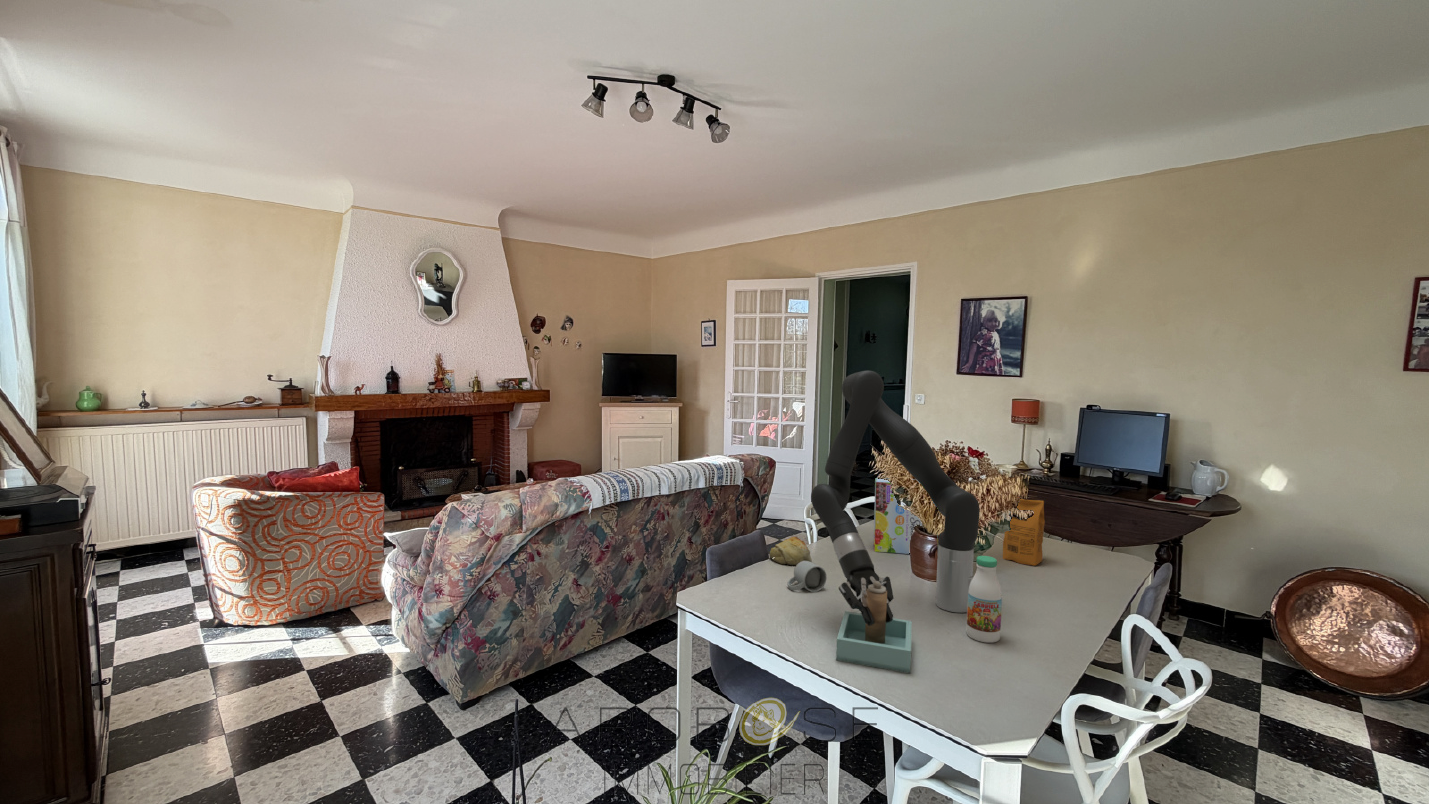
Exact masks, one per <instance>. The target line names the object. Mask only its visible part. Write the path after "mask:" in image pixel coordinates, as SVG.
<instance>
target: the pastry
mask: <svg viewBox="0 0 1429 804" xmlns="http://www.w3.org/2000/svg"><path fill="white" fill-rule="evenodd" d="M773 557H775V558H774V559H771V558H773ZM769 558H770V559H771V561H774V562H776V563H777V564H781V565H784V564H787V566H788V565H790V566H796V565H797V564H798V563H799V562H801V561H809V562H812V557H811V551H810V549H809V546H807V544H806V542H805V541H804V540H802V539H801V538H799V537H797V536H791V537H790V538H786V539H784V540H783V541H781V542H779V543H777V544H775V546H774V547H771V549H770V551H769Z"/></svg>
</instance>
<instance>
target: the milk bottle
mask: <svg viewBox="0 0 1429 804" xmlns="http://www.w3.org/2000/svg"><path fill="white" fill-rule="evenodd" d="M997 566H998V560H997V559H996V558H995V557H993V556H989V555H978V556H976V567H977V568H976V571H975V574H974V576H973V579H972V581H971V583H970V586H969V591H968V605H967V612H966V627H965V628H966V634H967V635H968V636H969V638H971V639H972V640H975V641H977V642H982V643H988V644H990V643H997V642H999V641H1000V639H1001V627H1002V612H1003V611H1002V610H1003V609H1002V606H1003V604H1002V603H1003V593H1002V591H1003V590H1002V587H1001V584H1000V582H999V579H998V577H997V572H996V570H997Z"/></svg>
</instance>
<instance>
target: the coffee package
mask: <svg viewBox="0 0 1429 804" xmlns="http://www.w3.org/2000/svg"><path fill="white" fill-rule="evenodd" d="M1044 505H1045V501H1044V500H1038V499H1037V500H1036V499H1023V498H1021V499H1020V502H1019V503H1018V506H1017V508H1018V509H1019V510H1033V511H1034V515H1033V516H1032V517H1030V518H1028V519H1022V520H1020V519H1018V518H1017V517H1012V519H1011V521H1010V528H1011V530H1010V531H1006V532H1005V531H1004V537H1003V539H1002V559H1003V560H1008V561H1013V562H1016V563H1018V564H1021V565H1027V566H1037V565H1038V564H1040V563H1041V562H1042V561H1043V543H1044V532H1045V531H1044V530H1045V523H1046V522H1045V509H1044V508H1045V506H1044Z"/></svg>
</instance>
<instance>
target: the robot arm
mask: <svg viewBox="0 0 1429 804" xmlns="http://www.w3.org/2000/svg"><path fill="white" fill-rule="evenodd" d="M884 385H885V384H884V380H883V378H882V377H881V375H880V374H879V373H877V372H876V371H873V370H862V371H858V372H854V373H852V374H848V375H847V376H846V377H845V378H844V379H843V381H842V385H841V392H842V395H843V397H844V400H845V401H846V402H848V404H849V405H850V406H849V409H848V412H847V415H846V417H845V420H844V422H843V423H842V426H841V428H840V429H839V431H838V432H837V435H836V436H835V438H834V439H833V443H832V444H831V448H830V450H829V454H828V458H827V460H826V463H825V466H824V467H825V468H824V471H825V473H826V475H828V477H829V482H828V483H829V484H827V483H819V484H817V485H815V486H814V487H813V488H812V489H811V494H810V500H811V505H812V507H813V510H814V511H815V513H816V514H817V516H818V518H819V520H820V521H821V522H822V524H823V525H824V527H825V528H826V530H827V532H828V535H829V537H830V541H831V543H832V544H833V549H834V552H835V555H836V557H837V558H836V559H837V560H838V562H839V566H840V568H841V570H842V572H843V575H844V577H845V578H846V582H842V583H841V584H840V586H839V587H838V590H839V592H840V594H841V595H842V597H843V598H844V600H845V601H846V602H847V604H848V605H849V607H850V609H852V610H855V609H856V610H859V611H860V613H861V614H862V616H863V619H864V621H865V623H866V624H867V625H868V626H871V625H873V624H874V623H875V621H874V619H873V616H872V614H871V611H870V609H869V607H867V588H868V586H869V585H871V584H873V583H874V582H875V581H879V582H880V583H881V585H882V586H884V587H886V591H887V608H886V623H889V622H891V621H892V620H893V618H894V613H893V612H892V610H891V607H890V603H891V602H892V601H893V600H894V599H895V598H894V594H893V588H892V584H891V583H892V582H891V578H890V576H885V577H879V575H878V574H877V573H876V571H875V565H874V563H873V561H872V558H871V557H870V554H869V551H868V549H867V548H866V547H867V546H866V545H865V542H864V541H863V539H862V537H861V536H860V534H859V531H858V529H857V526H856V524H855V522H854V520H853V519H852V517H851V516H850V515H849V514H847V513H846V512H845V511H844V510H846V508H847V505H848V503H849V498H850V493H851V476H852V475H851V474H852V472H853V469H854V466H855V462H856V459H857V455H858V452H859V449H860V447H861V444H862V440H863V438H864V435H865V433H866V430H867V428H868V426H869V425H870V426H871V428H872V429H873V430H874V432H875V433H876V434H877V435H878V436H879V438H880V439H881V440H882V442H883V443H884V444H885V445H886V447H887V448H888V449H889V451H890V452H891V453H892V454H893V456H894V458H896V459H897V461H898V462H899V464H900V465H902V467H904V469H905V470H906V471H907V472H908V473H909V474H910V475H911V476H912V477H913V478H914V480H917V481H918V482H919V483H920V484H921V485H922V486H923V488H924V489H925V490H926V492H927V493H928V495H929V496H930V498H931V499H932V501H933V503H934V504H935V506H936V507H937V509H938V513H940V514H941V515H942V516H943V517H944V527H943V531H942V532H940V533H939V534H938V538H937V560H936V561H937V565H936V587H935V605H936V606H937V607H938V608H940V609H942V610H944V611H947V612H951V613H952V612H953V613H960V614H961V613H967V605H968V591H969V586H970V583H971V581H972V579H973V577H974V576H973V573H974V558H975V557H974V555H975V542H976V541H977V539H978V535H979V524H980V516H981V515H980V513H981V512H980V503H979V500H978V499H977V497H976V496H975V495H974V494H972V493H971V492H968V491H967V490H965V489H963V488H962V487H960V486H959V485H958V484H956V483H955V482H954V480H953V479H951V477H949V475H948V474H947V473H946V472H945V470H944V469H943V468H942V467H941V465H940V463H939V461H938V458H937V457H936V454H935V452H934V450H933V448H932V447H931V445H930V444H929V443H928V441H927V440H926V439H925V437H923V435H922V434H921V433H920V431H919V430H918V429H917V428H916V427H915V426H913V425H912V424H911V423H910V422H909V421H908V420H907V419H905V418H903V417H902V416H900V415H899V414H897V412H895V411H893V409H892V408H890V407H889V406H888V405H887V404H886V403H885V401H884V400H883V399H882V395H883V393H884V390H885V389H884V388H885V386H884ZM853 591H854V592H853Z"/></svg>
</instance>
